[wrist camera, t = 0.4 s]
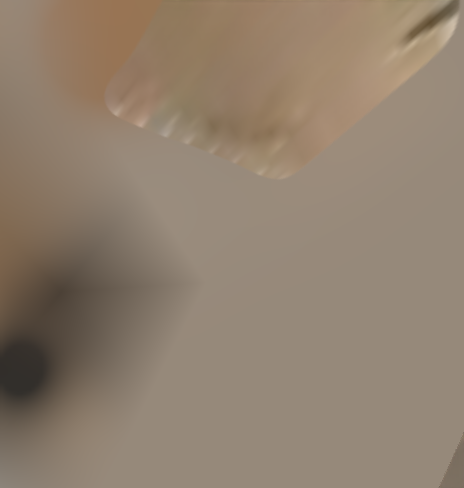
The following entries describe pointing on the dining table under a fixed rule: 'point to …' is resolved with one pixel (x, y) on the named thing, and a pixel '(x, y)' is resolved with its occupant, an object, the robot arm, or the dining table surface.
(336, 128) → the dining table surface
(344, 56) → the dining table surface
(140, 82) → the dining table surface
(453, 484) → the robot arm
